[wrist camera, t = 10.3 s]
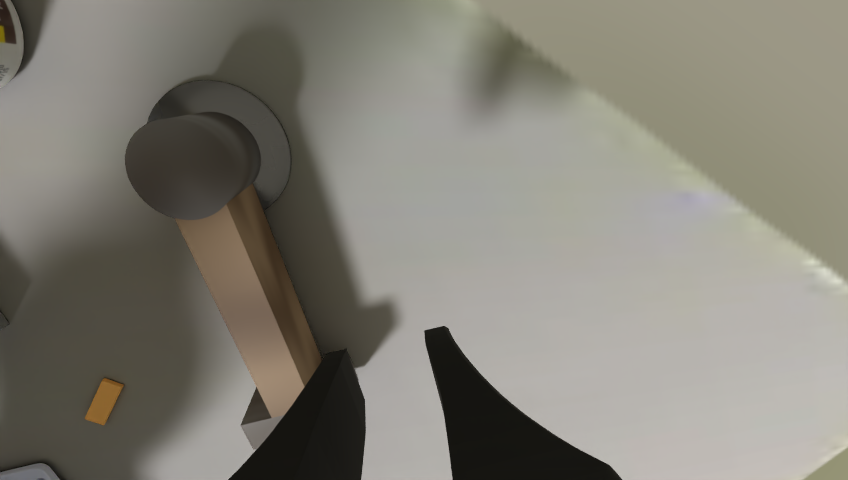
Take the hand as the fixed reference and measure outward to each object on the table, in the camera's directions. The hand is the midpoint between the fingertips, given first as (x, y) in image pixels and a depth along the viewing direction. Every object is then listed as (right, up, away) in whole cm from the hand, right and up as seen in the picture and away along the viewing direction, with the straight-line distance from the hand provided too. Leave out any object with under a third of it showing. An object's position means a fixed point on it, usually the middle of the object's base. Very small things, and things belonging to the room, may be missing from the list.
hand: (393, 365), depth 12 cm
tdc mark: (-16, -5, +10) cm, 20 cm away
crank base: (-8, +8, +6) cm, 12 cm away
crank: (-7, +2, +7) cm, 10 cm away
